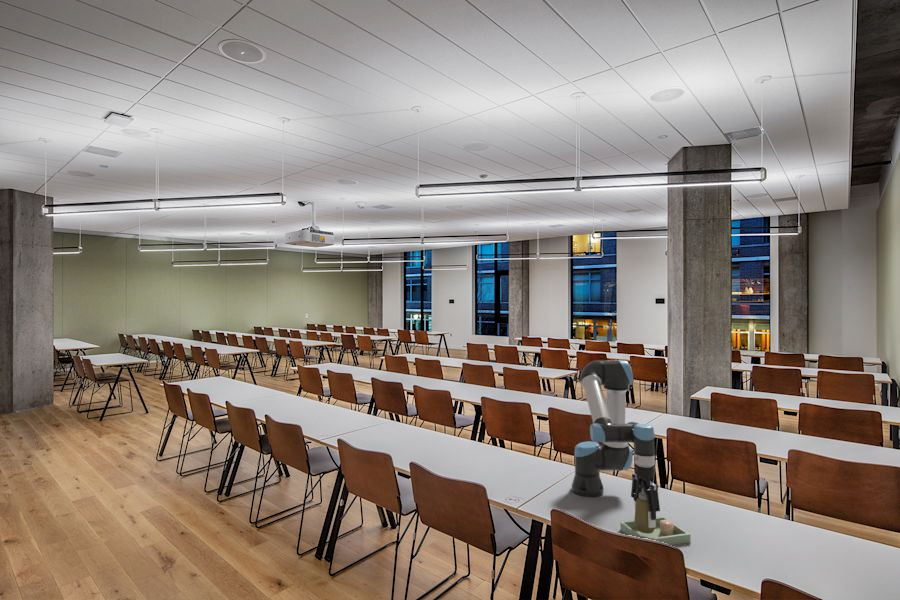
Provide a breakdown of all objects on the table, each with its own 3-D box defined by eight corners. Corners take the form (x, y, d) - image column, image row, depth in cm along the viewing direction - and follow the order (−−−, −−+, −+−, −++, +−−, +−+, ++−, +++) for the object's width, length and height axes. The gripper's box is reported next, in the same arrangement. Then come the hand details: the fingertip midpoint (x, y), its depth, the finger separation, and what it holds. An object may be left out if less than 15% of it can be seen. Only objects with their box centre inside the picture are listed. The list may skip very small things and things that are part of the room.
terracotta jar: (657, 531, 198) (657, 520, 198) (668, 530, 199) (668, 519, 199) (664, 537, 193) (664, 526, 193) (676, 536, 194) (676, 524, 194)
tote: (620, 530, 201) (620, 521, 201) (664, 524, 205) (663, 516, 205) (644, 549, 185) (643, 540, 185) (690, 543, 189) (690, 534, 189)
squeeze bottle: (643, 536, 189) (642, 489, 189) (630, 527, 197) (629, 482, 197) (661, 533, 191) (660, 487, 191) (647, 524, 199) (646, 480, 199)
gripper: (621, 457, 203) (622, 512, 203) (652, 474, 183) (653, 535, 183) (637, 455, 205) (638, 510, 205) (669, 472, 185) (670, 533, 185)
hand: (645, 522), depth 194 cm, fingers closed on squeeze bottle, 8 cm apart
